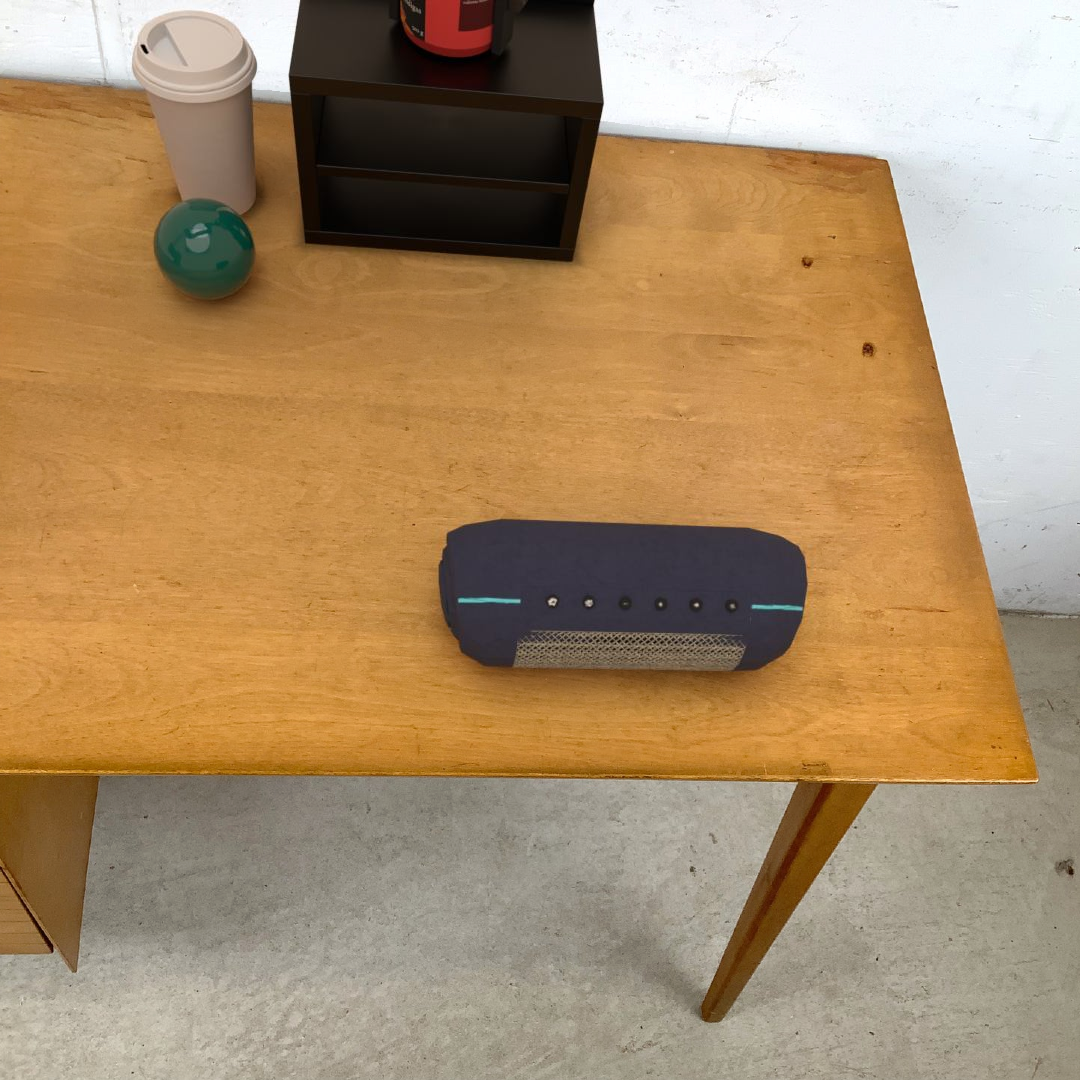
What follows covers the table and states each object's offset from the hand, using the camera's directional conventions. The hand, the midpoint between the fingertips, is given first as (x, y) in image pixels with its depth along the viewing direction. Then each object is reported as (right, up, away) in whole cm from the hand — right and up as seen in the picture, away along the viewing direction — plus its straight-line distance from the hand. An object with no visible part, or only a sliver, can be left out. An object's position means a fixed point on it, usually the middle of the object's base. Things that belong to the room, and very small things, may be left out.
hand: (450, 27), depth 80 cm
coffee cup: (-22, -10, +11) cm, 27 cm away
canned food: (0, 0, 0) cm, 0 cm away
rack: (-2, -9, +14) cm, 17 cm away
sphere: (-21, -19, +6) cm, 29 cm away
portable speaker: (+12, -47, -7) cm, 49 cm away
